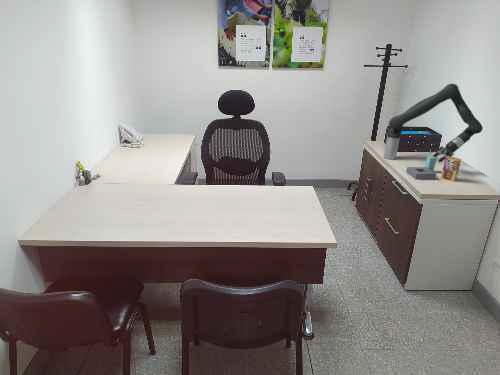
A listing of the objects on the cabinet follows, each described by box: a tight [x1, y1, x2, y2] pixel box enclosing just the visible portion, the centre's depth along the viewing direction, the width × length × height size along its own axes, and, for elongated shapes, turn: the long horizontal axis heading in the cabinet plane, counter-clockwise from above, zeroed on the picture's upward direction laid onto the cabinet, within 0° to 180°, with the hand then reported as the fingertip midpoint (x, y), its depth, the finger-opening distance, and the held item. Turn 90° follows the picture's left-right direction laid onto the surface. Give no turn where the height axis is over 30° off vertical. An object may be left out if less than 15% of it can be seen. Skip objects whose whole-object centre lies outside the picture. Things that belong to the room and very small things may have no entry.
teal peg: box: [424, 155, 437, 172], centre depth 261 cm, size 4×4×11 cm
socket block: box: [405, 166, 437, 180], centre depth 253 cm, size 14×14×4 cm
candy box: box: [440, 156, 462, 182], centre depth 246 cm, size 9×4×15 cm, turn 39°
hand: (435, 159), depth 260 cm, fingers open, 8 cm apart
